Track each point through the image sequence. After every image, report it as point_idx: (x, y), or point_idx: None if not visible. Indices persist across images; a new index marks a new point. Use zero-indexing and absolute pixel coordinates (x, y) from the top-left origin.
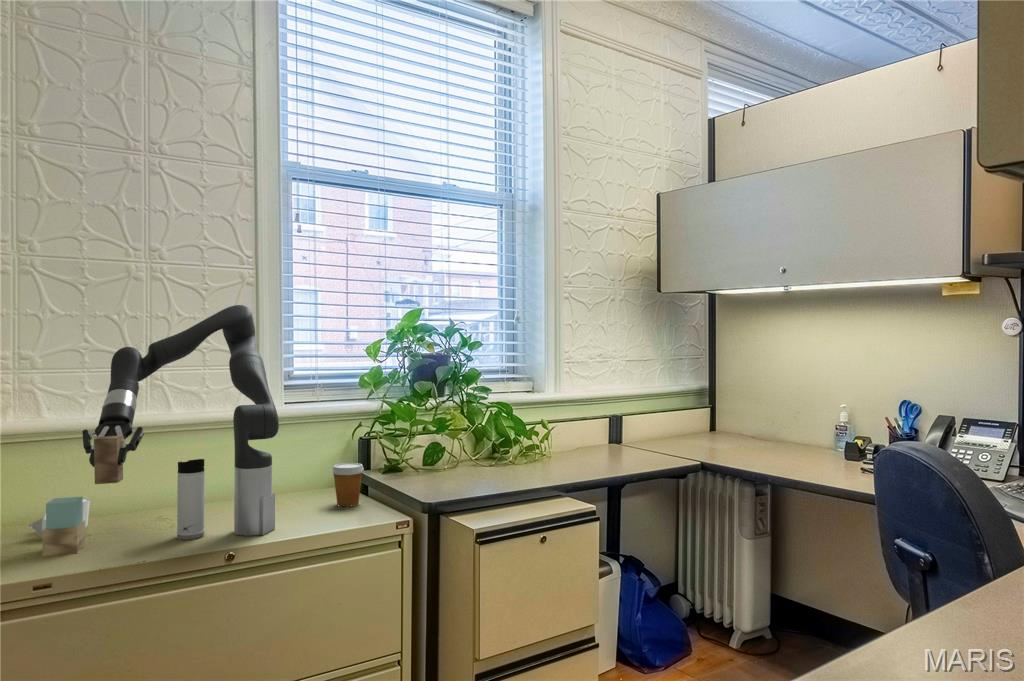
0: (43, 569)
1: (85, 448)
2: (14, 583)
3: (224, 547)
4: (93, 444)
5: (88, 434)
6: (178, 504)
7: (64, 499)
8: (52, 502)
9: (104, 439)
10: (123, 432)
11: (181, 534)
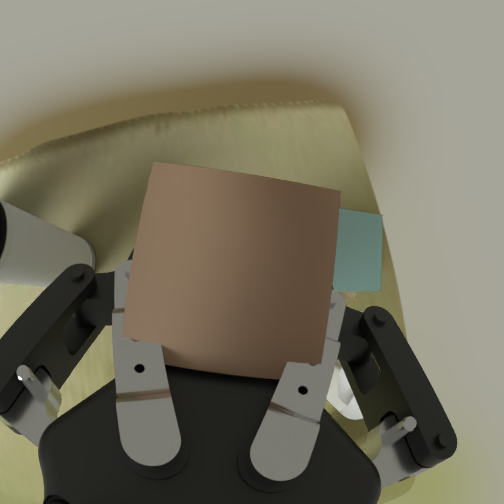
0: (315, 149)
1: (375, 309)
2: (335, 103)
3: (42, 164)
4: (341, 324)
5: (410, 416)
6: (58, 238)
7: (350, 258)
8: (371, 227)
9: (255, 176)
10: (110, 399)
11: (85, 241)
